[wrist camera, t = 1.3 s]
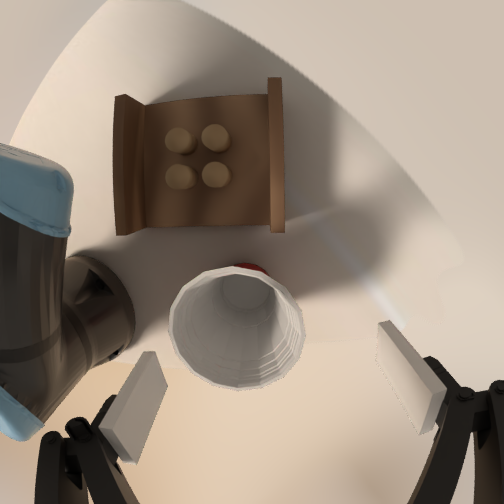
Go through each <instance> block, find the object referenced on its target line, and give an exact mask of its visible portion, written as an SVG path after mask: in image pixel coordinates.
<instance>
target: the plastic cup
mask: <svg viewBox="0 0 504 504" xmlns="http://www.w3.org/2000/svg"><path fill="white" fill-rule="evenodd" d="M168 332H169V335H170V338H171V341H172V344H173V347H174V350H175V353H176V355H177V356H178V357H179V358H180V360H181V361H182V362H183V363H184V365H185V366H186V367H187V368H188V369H189V370H190V372H191V373H193V374H194V375H196V376H198V377H199V378H201V379H202V380H204V381H206V382H208V383H209V384H211V385H213V386H216V387H221V388H226V389H230V390H235V391H242V390H251V389H259V388H263V387H265V386H267V385H269V384H271V383H273V382H275V381H277V380H279V379H281V378H283V377H284V376H285V375H286V374H287V373H288V372H289V370H290V369H291V368H292V367H293V366H294V365H295V363H296V362H297V361H298V360H299V358H300V355H301V352H302V348H303V345H304V341H305V337H306V333H305V327H304V321H303V315H302V310H301V309H300V307H299V306H298V304H297V303H296V301H295V300H294V298H293V297H292V296H291V294H290V293H289V291H288V290H287V288H286V287H284V286H283V285H281V284H280V283H278V282H277V281H275V280H273V279H272V278H270V276H269V275H268V274H267V273H266V271H265V270H263V269H262V268H260V267H258V266H257V265H254V264H249V263H242V264H237V265H234V266H230V267H225V268H220V269H215V270H209V271H204V272H203V273H201V274H200V275H198V276H197V277H196V278H194V279H193V280H191V281H190V282H188V283H187V284H186V285H184V286H183V287H182V288H181V290H180V292H179V294H178V295H177V297H176V299H175V300H174V302H173V304H172V306H171V307H170V317H169V329H168Z"/></svg>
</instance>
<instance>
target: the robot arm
mask: <svg viewBox="0 0 504 504" xmlns="http://www.w3.org/2000/svg"><path fill="white" fill-rule="evenodd" d="M73 193H74V185H73V180H72V178H71V176H70V174H69V172H68V171H67V170H66V169H65V168H64V167H62V166H61V165H59V164H58V163H56V162H54V161H51V160H49V159H47V158H44V157H42V156H39V155H36V154H34V153H31V152H28V151H25V150H22V149H19V148H15V147H12V146H9V145H5V144H1V143H0V431H1V432H2V433H3V434H5V435H6V436H8V437H10V438H11V439H14V440H16V441H27V440H29V439H30V438H31V437H32V436H33V435H34V434H35V433H36V432H38V431H39V430H40V429H41V428H43V427H44V426H45V425H44V423H45V422H46V421H47V420H48V418H49V417H50V416H51V415H52V413H53V412H54V411H55V410H56V408H57V407H58V406H59V405H60V404H61V402H62V401H63V400H64V399H65V398H66V396H67V395H68V394H69V393H70V392H71V390H72V389H73V388H74V387H75V385H76V384H77V383H78V382H79V381H80V380H81V378H82V377H83V376H84V375H85V374H86V373H87V372H88V370H90V369H92V368H94V367H97V366H99V365H102V364H104V363H106V362H108V361H111V360H113V359H115V358H116V357H118V356H119V355H120V354H121V353H122V352H123V351H124V350H125V348H126V347H127V346H128V345H129V343H130V342H131V340H132V337H133V334H134V330H135V315H134V310H133V306H132V303H131V300H130V297H129V295H128V293H127V291H126V289H125V288H124V286H123V284H122V283H121V281H120V280H119V279H118V278H117V276H116V275H115V274H114V273H113V272H112V271H111V270H110V269H109V268H108V267H106V266H105V265H104V264H102V263H101V262H99V261H97V260H95V259H93V258H90V257H86V256H72V257H69V258H67V259H65V257H66V248H67V240H68V236H69V235H70V233H71V225H70V216H71V207H72V200H73ZM376 362H377V364H378V365H379V367H380V369H381V370H382V372H383V374H384V375H385V377H386V379H387V380H388V382H389V384H390V386H391V387H392V389H393V391H394V392H395V394H396V396H397V397H398V399H399V401H400V403H401V405H402V406H403V408H404V410H405V412H406V413H407V415H408V417H409V418H410V421H411V422H412V424H413V426H414V428H415V429H416V431H417V433H418V435H421V434H424V433H426V432H429V431H431V430H433V427H434V424H435V422H436V423H437V425H438V427H439V428H438V431H437V433H436V436H435V438H434V443H433V446H432V448H431V451H430V454H429V457H428V459H427V462H426V464H425V466H424V469H423V471H422V474H421V476H420V478H419V480H418V483H417V485H416V487H415V489H414V491H413V493H412V495H411V497H410V500H409V502H408V503H407V504H450V502H451V500H452V497H453V494H454V491H455V489H456V486H457V483H458V479H459V476H460V473H461V470H462V466H463V463H464V459H465V455H466V451H467V447H468V443H469V439H470V433H471V432H473V436H474V455H475V487H474V504H504V380H497V381H494V382H493V383H491V386H490V387H489V390H486V391H480V392H475V391H474V390H472V389H471V388H468V387H461V386H460V385H459V384H458V383H457V382H456V381H455V379H454V378H453V377H452V376H451V375H450V374H449V372H447V371H446V369H445V368H444V367H443V366H442V364H441V363H440V362H439V361H438V360H437V359H435V358H433V357H431V356H428V357H425V358H422V357H421V356H420V355H419V354H418V352H417V351H416V350H415V349H414V348H413V346H412V345H411V344H410V343H409V342H408V341H407V339H406V338H405V337H404V336H403V335H402V334H401V332H400V331H399V330H398V329H397V328H396V327H395V326H394V324H393V323H392V322H391V321H390V320H389V321H385V322H380V323H378V337H377V353H376ZM167 387H168V385H167V383H166V380H165V378H164V375H163V372H162V370H161V367H160V364H159V361H158V359H157V356H156V353H155V351H149V352H143V354H142V355H141V357H140V358H139V360H138V362H137V363H136V365H135V367H134V368H133V370H132V371H131V373H130V375H129V377H128V378H127V380H126V381H125V383H124V385H123V386H122V388H121V390H120V391H119V393H118V395H111V396H110V397H109V398H108V399H107V400H106V401H105V403H104V404H103V406H102V408H101V409H100V410H99V412H98V414H97V415H96V417H95V419H94V420H93V422H92V423H91V425H90V424H89V422H88V421H87V420H86V419H85V418H83V417H76V418H73V419H71V420H69V421H68V422H67V424H66V426H65V431H66V432H67V433H68V435H69V436H70V438H63V437H62V436H61V435H60V433H59V432H57V431H50V432H48V433H46V434H45V435H44V436H43V437H42V439H41V443H40V450H39V457H38V465H37V474H36V484H35V502H34V504H89V502H88V490H89V492H90V495H91V497H92V500H93V502H94V504H140V503H139V502H138V500H137V498H136V496H135V495H134V493H133V491H132V489H131V487H130V486H129V484H128V482H127V480H126V478H125V476H124V474H123V472H122V470H121V468H120V466H119V464H118V463H117V462H116V461H117V458H118V456H119V457H120V459H121V460H122V461H123V462H124V463H128V464H134V465H137V463H138V461H139V458H140V455H141V453H142V450H143V448H144V445H145V442H146V440H147V437H148V435H149V432H150V429H151V427H152V425H153V422H154V420H155V417H156V415H157V412H158V410H159V407H160V405H161V402H162V399H163V397H164V394H165V392H166V390H167ZM87 487H88V490H87Z"/></svg>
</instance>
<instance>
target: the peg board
mask: <svg viewBox="0 0 504 504" xmlns="http://www.w3.org/2000/svg"><path fill="white" fill-rule="evenodd" d="M113 194H114V212H115V226H116V236H121V235H129V234H131V233H134V232H136V231H139V230H142V229H144V228H149V227H180V226H225V225H270V230H271V233H285V190H284V135H283V104H282V80H281V78H268V94H253V95H230V96H216V97H204V98H194V99H186V100H178V101H170V102H164V103H157V104H151V105H143V104H142V103H140V102H138V101H137V100H135V99H133V98H132V97H130V96H128V95H126V94H123V95H119V96H115V104H114V121H113Z"/></svg>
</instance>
